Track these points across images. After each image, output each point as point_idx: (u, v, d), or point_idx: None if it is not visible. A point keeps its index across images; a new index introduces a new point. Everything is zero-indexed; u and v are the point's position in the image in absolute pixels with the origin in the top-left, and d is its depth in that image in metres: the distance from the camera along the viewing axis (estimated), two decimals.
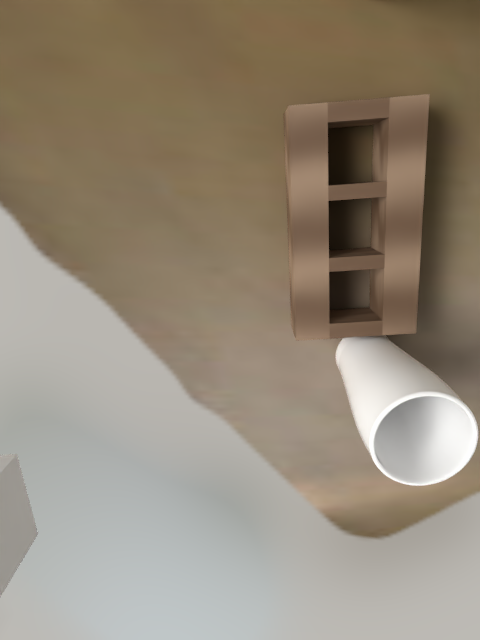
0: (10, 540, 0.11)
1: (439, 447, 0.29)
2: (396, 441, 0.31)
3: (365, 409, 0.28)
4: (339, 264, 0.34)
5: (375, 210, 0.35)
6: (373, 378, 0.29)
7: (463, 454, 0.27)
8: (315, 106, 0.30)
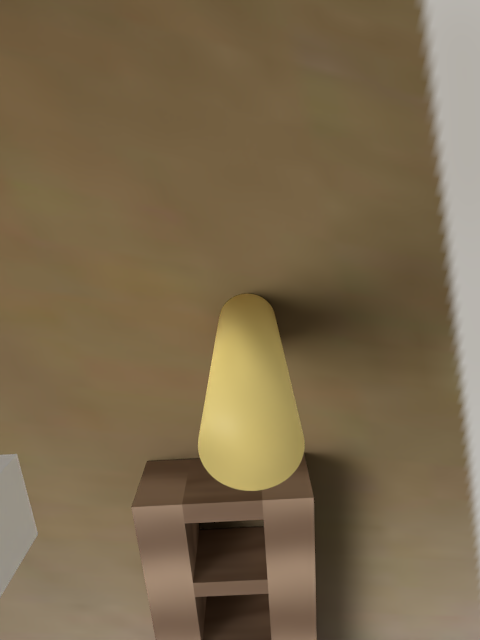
0: (10, 540, 0.11)
1: None
2: None
3: None
4: None
5: None
6: None
7: None
8: (166, 508, 0.23)
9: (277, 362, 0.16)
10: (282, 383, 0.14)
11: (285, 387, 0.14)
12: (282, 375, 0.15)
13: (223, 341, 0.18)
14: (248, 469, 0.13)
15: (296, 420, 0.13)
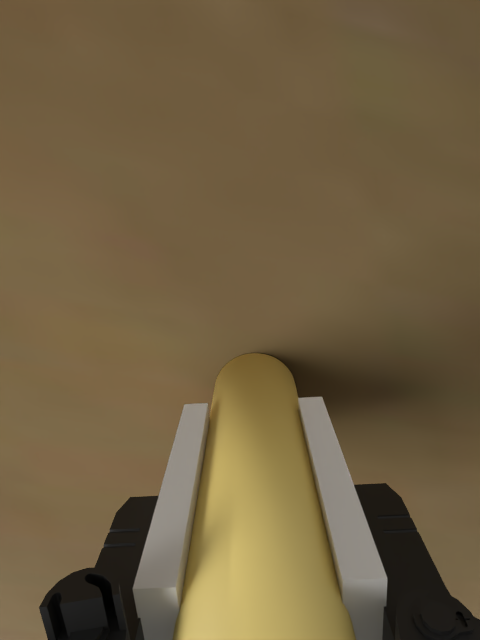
0: None
1: None
2: None
3: None
4: None
5: None
6: None
7: None
8: None
9: (312, 532, 0.08)
10: (329, 615, 0.07)
11: (336, 626, 0.07)
12: (325, 578, 0.07)
13: (214, 466, 0.10)
14: None
15: None
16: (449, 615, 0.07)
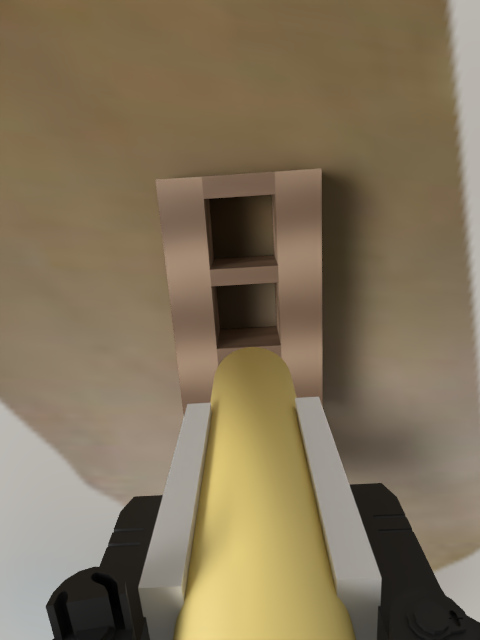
0: None
1: None
2: None
3: None
4: None
5: (276, 289, 0.31)
6: None
7: None
8: (187, 181, 0.26)
9: (306, 509, 0.09)
10: (322, 580, 0.07)
11: (329, 589, 0.07)
12: (319, 548, 0.08)
13: (214, 451, 0.11)
14: None
15: None
16: (443, 614, 0.07)
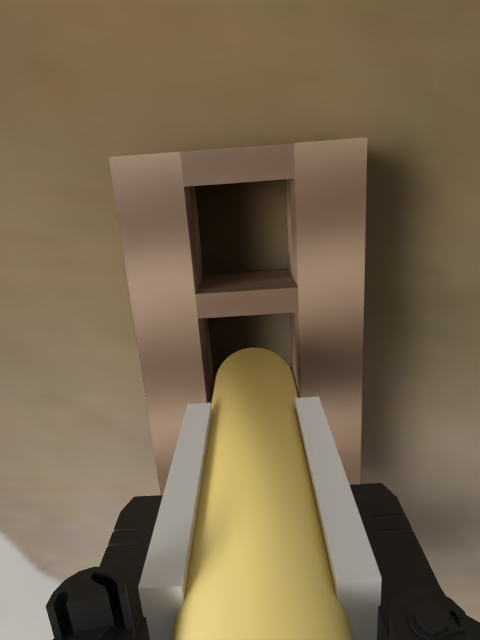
0: None
1: None
2: None
3: None
4: None
5: (293, 317, 0.21)
6: None
7: None
8: (158, 158, 0.17)
9: (306, 510, 0.09)
10: (320, 581, 0.07)
11: (327, 591, 0.07)
12: (317, 550, 0.08)
13: (214, 452, 0.11)
14: None
15: None
16: (443, 614, 0.07)
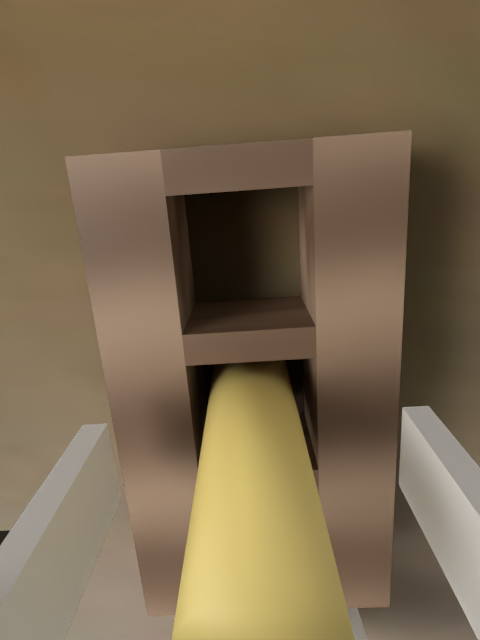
0: (105, 499, 0.12)
1: None
2: None
3: None
4: None
5: None
6: None
7: None
8: (131, 159, 0.12)
9: (297, 469, 0.10)
10: (309, 522, 0.09)
11: (315, 529, 0.09)
12: (307, 499, 0.09)
13: (215, 424, 0.12)
14: None
15: (341, 616, 0.07)
16: None
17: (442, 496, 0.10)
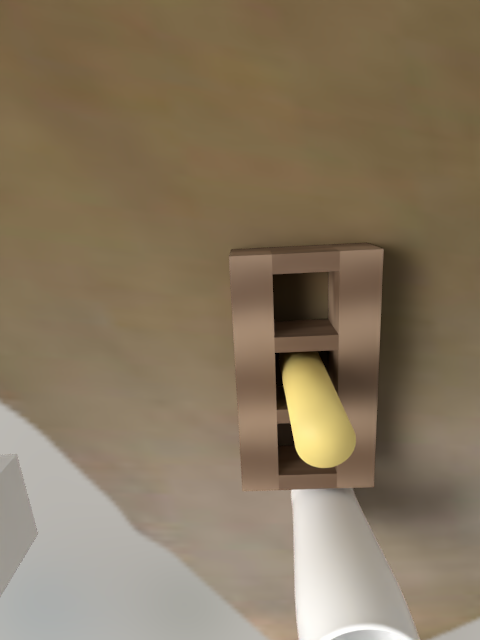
0: (10, 540, 0.11)
1: None
2: None
3: (303, 621, 0.24)
4: (288, 416, 0.31)
5: (331, 351, 0.32)
6: (316, 575, 0.26)
7: None
8: (258, 258, 0.28)
9: (332, 391, 0.25)
10: (339, 404, 0.24)
11: (341, 406, 0.24)
12: (337, 399, 0.24)
13: (293, 377, 0.27)
14: (323, 455, 0.23)
15: (351, 425, 0.22)
16: None
17: None
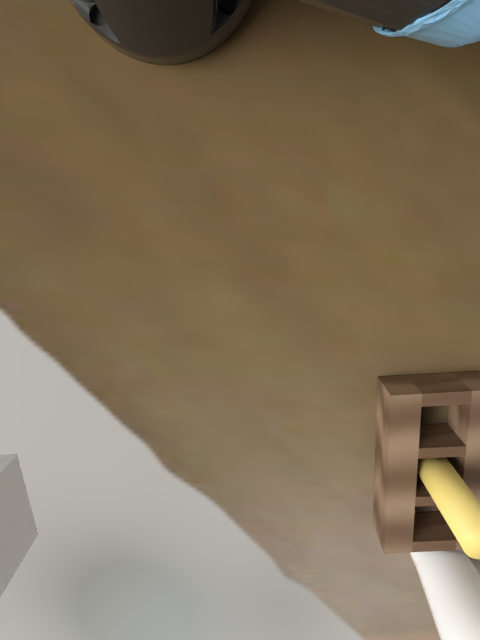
0: (10, 540, 0.11)
1: None
2: None
3: None
4: (424, 501, 0.42)
5: None
6: (463, 625, 0.37)
7: None
8: (412, 396, 0.38)
9: (475, 498, 0.36)
10: None
11: None
12: None
13: (439, 482, 0.38)
14: None
15: None
16: None
17: None
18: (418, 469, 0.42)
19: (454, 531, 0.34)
